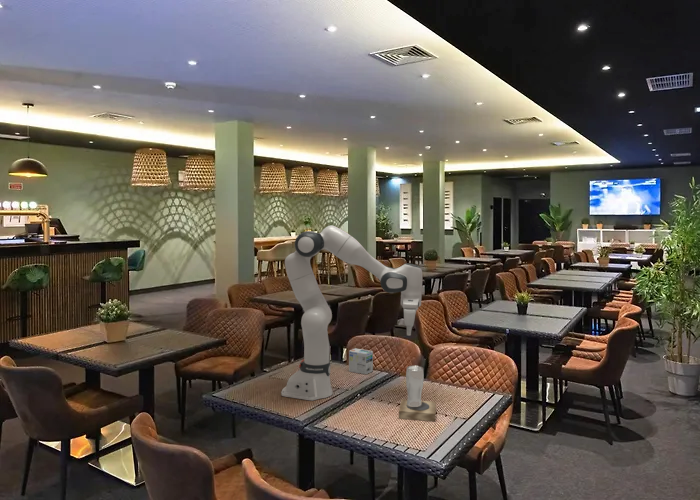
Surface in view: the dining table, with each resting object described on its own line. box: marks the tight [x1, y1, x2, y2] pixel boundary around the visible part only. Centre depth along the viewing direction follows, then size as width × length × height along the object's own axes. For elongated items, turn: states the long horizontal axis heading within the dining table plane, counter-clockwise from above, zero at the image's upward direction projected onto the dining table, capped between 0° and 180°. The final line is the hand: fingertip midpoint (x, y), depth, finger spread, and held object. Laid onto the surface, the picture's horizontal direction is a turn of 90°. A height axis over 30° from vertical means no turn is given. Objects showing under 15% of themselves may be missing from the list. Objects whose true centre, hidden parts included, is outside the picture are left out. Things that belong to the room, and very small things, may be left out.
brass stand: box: [398, 398, 437, 422], centre depth 204 cm, size 14×13×3 cm
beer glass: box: [405, 365, 425, 408], centre depth 204 cm, size 7×7×15 cm
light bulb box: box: [348, 347, 374, 375], centre depth 258 cm, size 11×7×11 cm, turn 57°
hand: (409, 332), depth 222 cm, fingers open, 8 cm apart
